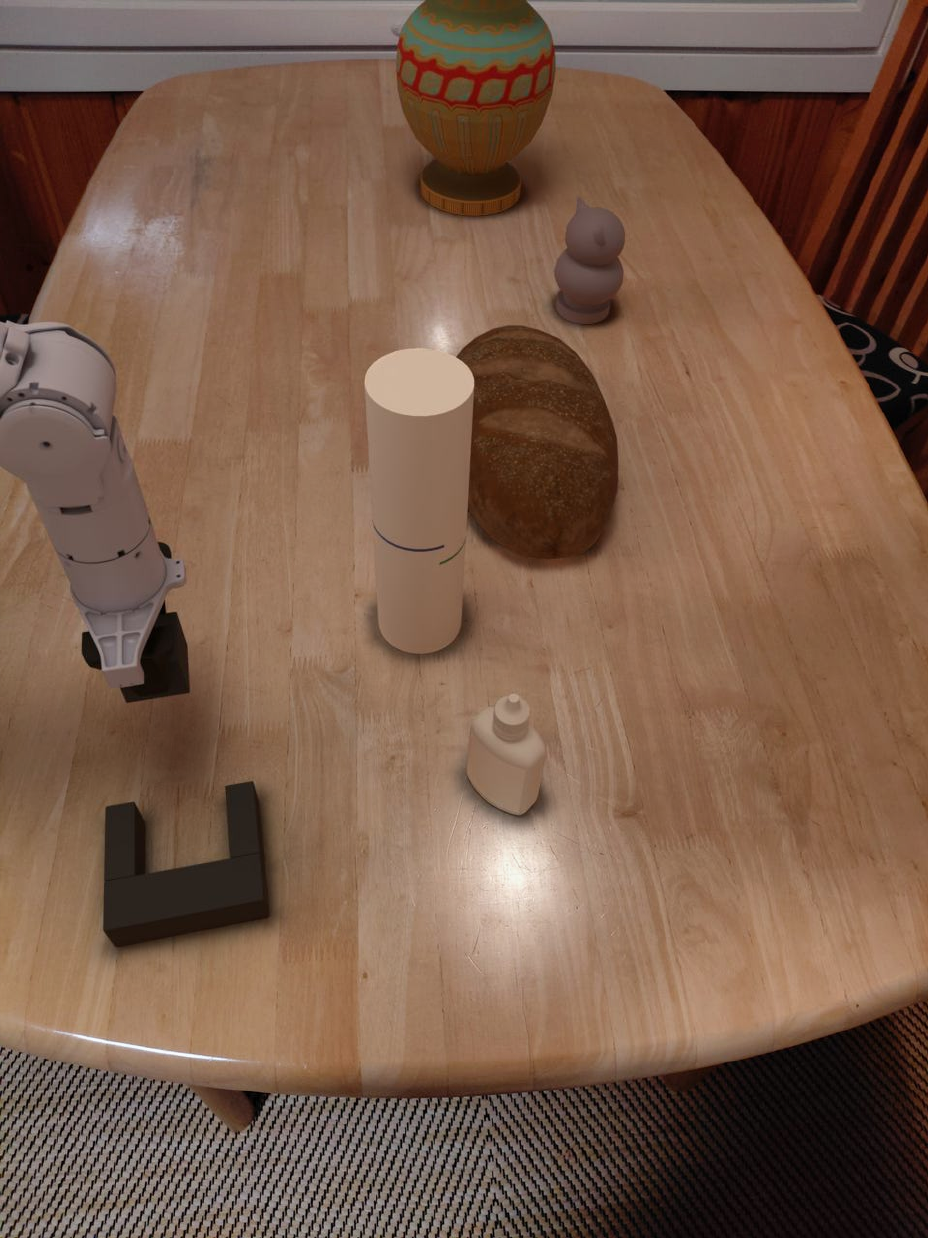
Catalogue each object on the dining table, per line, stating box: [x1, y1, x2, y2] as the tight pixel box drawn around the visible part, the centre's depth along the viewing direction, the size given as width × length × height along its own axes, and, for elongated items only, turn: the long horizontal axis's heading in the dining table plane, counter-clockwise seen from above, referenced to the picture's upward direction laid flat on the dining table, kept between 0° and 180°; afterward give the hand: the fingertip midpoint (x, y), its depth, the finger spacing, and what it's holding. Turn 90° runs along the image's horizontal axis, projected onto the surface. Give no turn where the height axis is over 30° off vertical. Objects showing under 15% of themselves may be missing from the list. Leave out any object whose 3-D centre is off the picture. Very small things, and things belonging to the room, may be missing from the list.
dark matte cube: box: [119, 611, 191, 704], centre depth 66 cm, size 4×4×4 cm
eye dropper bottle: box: [466, 693, 547, 816], centre depth 66 cm, size 4×6×12 cm
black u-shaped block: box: [102, 780, 271, 948], centre depth 64 cm, size 10×9×3 cm
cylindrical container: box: [364, 347, 474, 655], centre depth 70 cm, size 7×7×25 cm
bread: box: [455, 324, 619, 561], centre depth 89 cm, size 16×29×11 cm, turn 9°
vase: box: [395, 0, 557, 217], centre depth 116 cm, size 20×20×30 cm
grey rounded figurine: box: [554, 195, 626, 325], centre depth 106 cm, size 8×8×12 cm
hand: (152, 662), depth 66 cm, fingers closed on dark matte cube, 4 cm apart
